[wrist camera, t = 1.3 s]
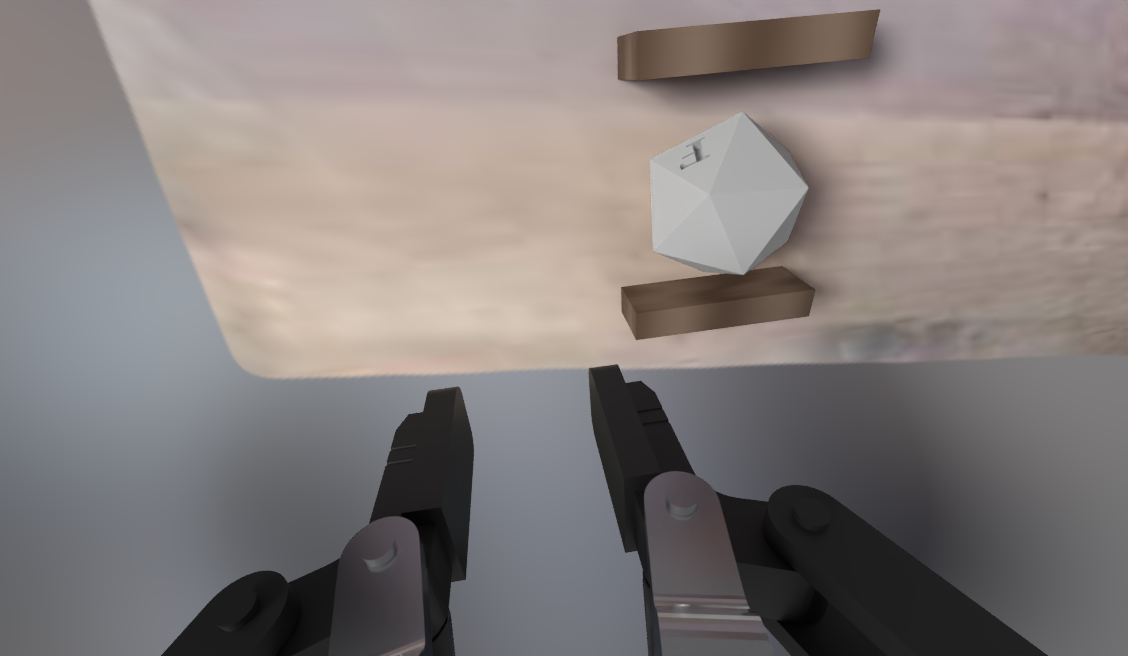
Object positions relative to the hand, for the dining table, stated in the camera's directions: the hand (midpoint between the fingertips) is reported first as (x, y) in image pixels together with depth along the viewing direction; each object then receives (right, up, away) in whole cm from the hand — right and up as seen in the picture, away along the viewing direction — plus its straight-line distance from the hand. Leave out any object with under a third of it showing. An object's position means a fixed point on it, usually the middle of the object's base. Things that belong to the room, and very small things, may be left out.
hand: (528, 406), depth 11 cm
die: (+9, +11, +17) cm, 23 cm away
